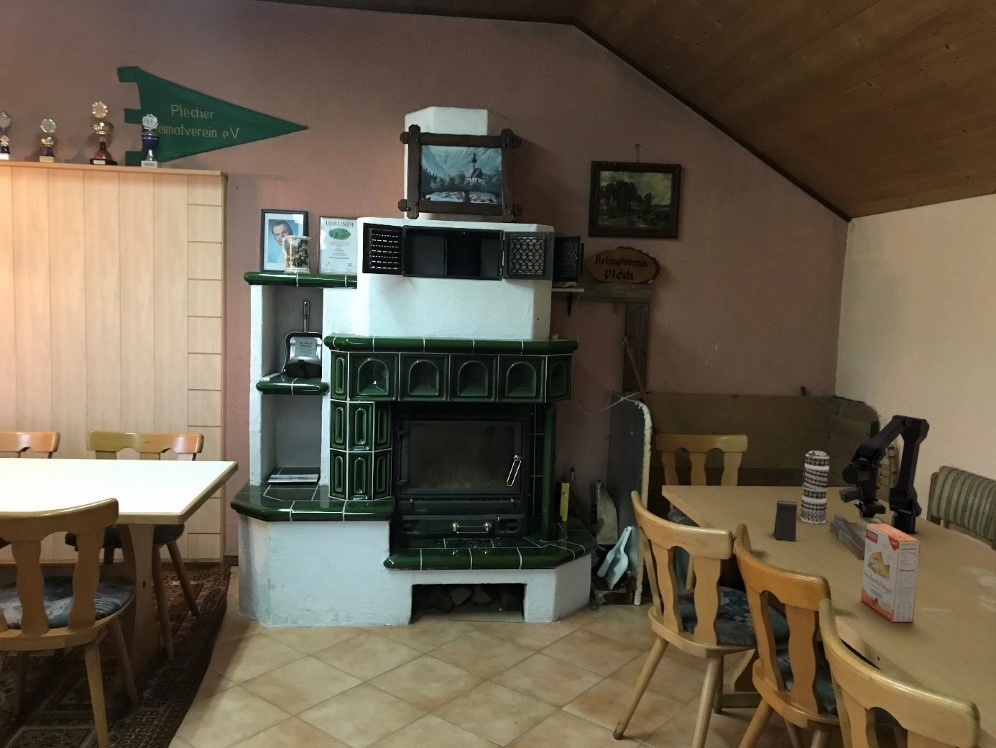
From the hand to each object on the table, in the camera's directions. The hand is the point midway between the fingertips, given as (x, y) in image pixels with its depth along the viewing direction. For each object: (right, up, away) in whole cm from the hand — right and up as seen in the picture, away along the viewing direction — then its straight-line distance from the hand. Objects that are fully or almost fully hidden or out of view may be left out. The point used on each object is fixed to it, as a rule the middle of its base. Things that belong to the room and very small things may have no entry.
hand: (864, 527), depth 253 cm
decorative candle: (-9, -2, +21) cm, 23 cm away
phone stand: (-26, -3, 0) cm, 27 cm away
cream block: (-1, -2, -5) cm, 5 cm away
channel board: (-1, -5, -5) cm, 7 cm away
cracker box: (-23, -10, -60) cm, 65 cm away
